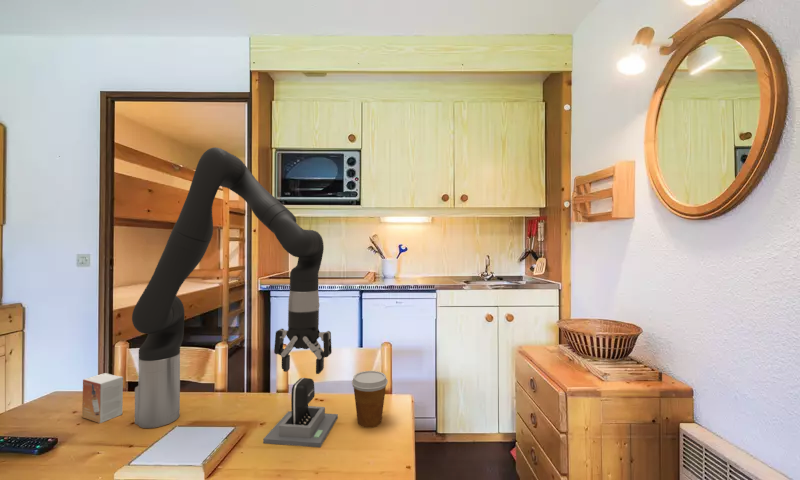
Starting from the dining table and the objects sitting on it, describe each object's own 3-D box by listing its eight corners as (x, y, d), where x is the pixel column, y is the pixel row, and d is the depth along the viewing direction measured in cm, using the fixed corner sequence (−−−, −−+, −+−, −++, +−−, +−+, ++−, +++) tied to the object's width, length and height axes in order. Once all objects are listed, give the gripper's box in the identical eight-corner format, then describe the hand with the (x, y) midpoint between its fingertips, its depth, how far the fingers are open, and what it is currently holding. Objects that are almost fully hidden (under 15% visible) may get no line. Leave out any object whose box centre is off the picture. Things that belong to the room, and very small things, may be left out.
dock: (263, 443, 85) (263, 428, 85) (288, 414, 99) (288, 402, 99) (320, 447, 83) (320, 432, 83) (337, 417, 97) (337, 404, 97)
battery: (305, 433, 87) (305, 386, 87) (290, 432, 88) (290, 385, 88) (316, 419, 94) (316, 376, 94) (302, 418, 94) (302, 375, 95)
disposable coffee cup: (344, 422, 95) (344, 376, 95) (370, 409, 102) (370, 367, 102) (368, 435, 88) (368, 386, 88) (394, 421, 95) (395, 376, 95)
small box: (81, 418, 96) (81, 379, 96) (105, 409, 102) (105, 372, 102) (99, 423, 93) (100, 383, 93) (123, 414, 99) (123, 376, 99)
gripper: (270, 309, 88) (268, 375, 88) (326, 312, 86) (324, 379, 86) (283, 304, 95) (282, 365, 95) (335, 306, 94) (334, 368, 94)
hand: (302, 371), depth 91 cm, fingers open, 8 cm apart
